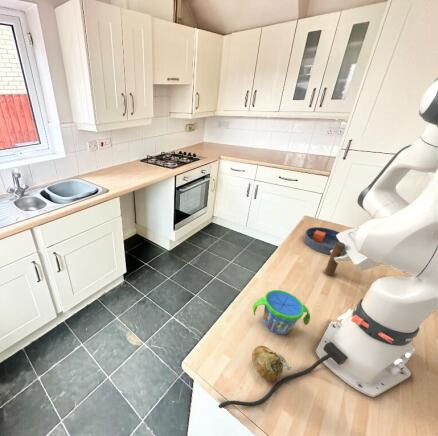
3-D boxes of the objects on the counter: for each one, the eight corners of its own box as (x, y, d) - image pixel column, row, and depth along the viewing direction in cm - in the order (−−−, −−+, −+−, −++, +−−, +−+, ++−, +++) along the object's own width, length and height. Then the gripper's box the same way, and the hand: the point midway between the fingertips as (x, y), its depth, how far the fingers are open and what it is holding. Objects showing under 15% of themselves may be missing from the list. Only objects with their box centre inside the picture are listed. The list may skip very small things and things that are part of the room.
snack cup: (300, 318, 79) (310, 296, 74) (307, 347, 70) (318, 324, 65) (249, 306, 84) (255, 284, 79) (249, 331, 75) (256, 308, 70)
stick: (331, 276, 95) (342, 247, 88) (323, 272, 97) (333, 243, 91) (335, 273, 96) (346, 244, 90) (327, 269, 98) (338, 240, 92)
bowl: (336, 262, 103) (340, 253, 101) (294, 241, 117) (297, 234, 115) (356, 248, 111) (360, 240, 109) (315, 231, 125) (318, 223, 123)
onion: (271, 354, 68) (278, 336, 65) (286, 385, 61) (295, 367, 58) (245, 355, 68) (250, 337, 65) (257, 386, 61) (263, 368, 58)
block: (321, 243, 115) (324, 236, 113) (311, 240, 117) (314, 233, 115) (323, 239, 117) (326, 232, 115) (313, 236, 119) (316, 229, 118)
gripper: (357, 220, 94) (320, 237, 101) (384, 250, 77) (337, 267, 84) (366, 231, 95) (329, 247, 102) (394, 263, 78) (347, 280, 85)
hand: (333, 257), depth 93 cm, fingers closed on stick, 3 cm apart
